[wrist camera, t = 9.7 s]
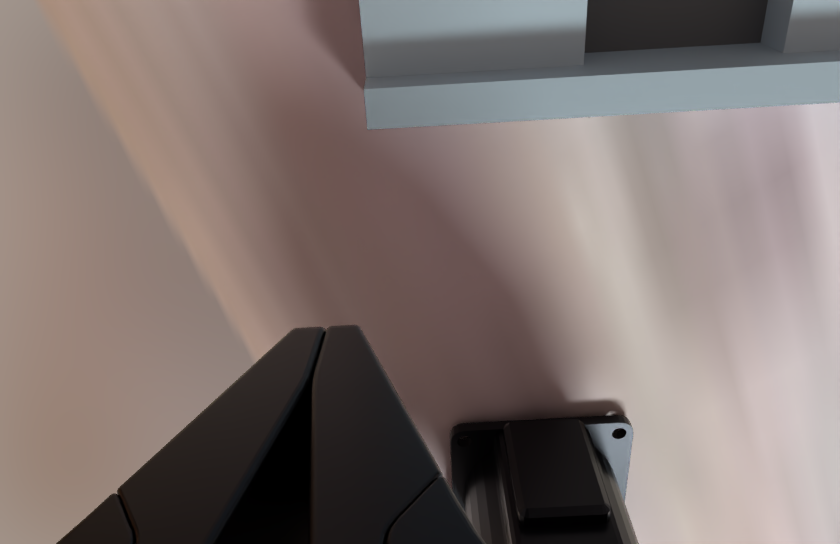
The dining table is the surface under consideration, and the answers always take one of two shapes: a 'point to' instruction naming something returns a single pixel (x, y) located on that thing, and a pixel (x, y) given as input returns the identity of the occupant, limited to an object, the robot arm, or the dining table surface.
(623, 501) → the robot arm
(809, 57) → the box
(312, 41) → the dining table surface
